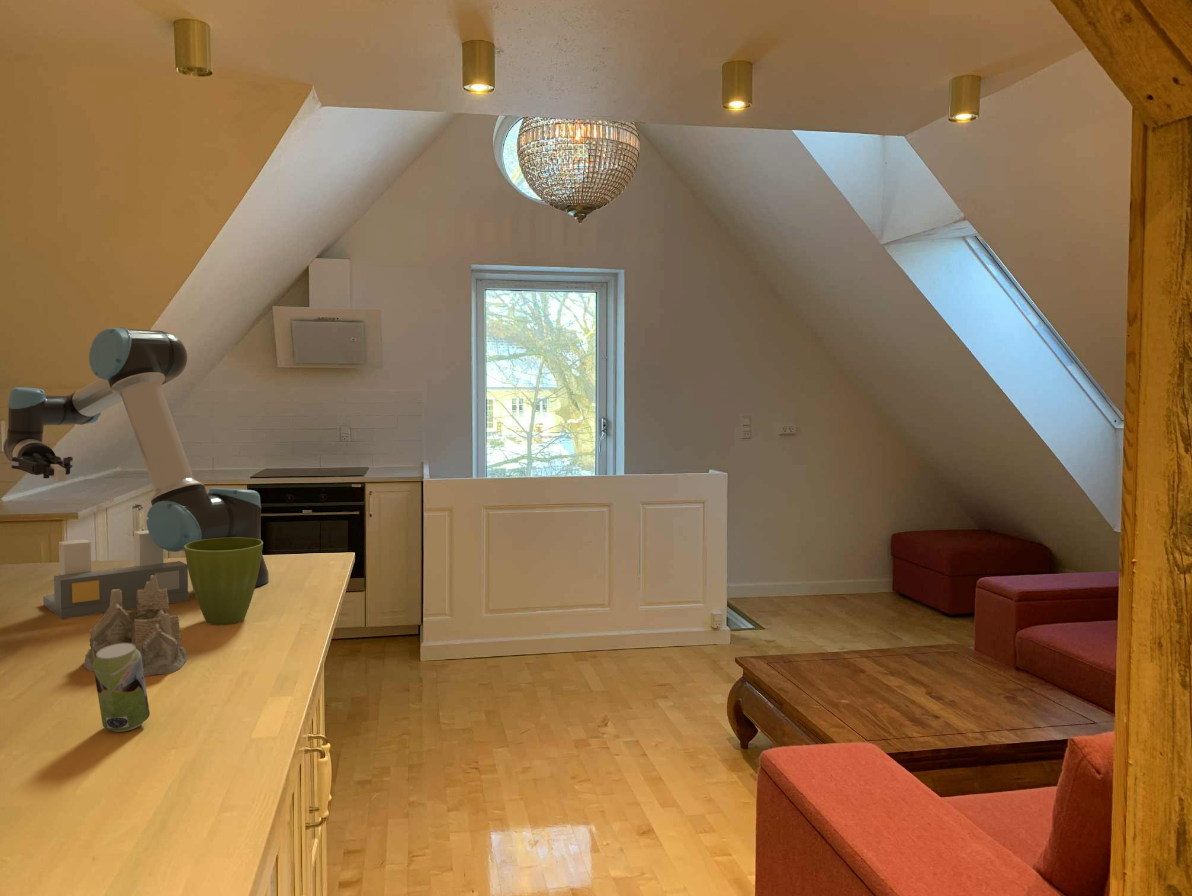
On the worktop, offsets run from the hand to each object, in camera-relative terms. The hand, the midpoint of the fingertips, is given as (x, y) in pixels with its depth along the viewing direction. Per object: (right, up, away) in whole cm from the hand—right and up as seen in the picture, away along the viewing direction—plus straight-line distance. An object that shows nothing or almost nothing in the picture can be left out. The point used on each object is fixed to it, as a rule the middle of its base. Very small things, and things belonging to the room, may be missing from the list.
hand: (61, 475), depth 202 cm
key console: (+15, -28, -5) cm, 32 cm away
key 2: (+18, -25, +4) cm, 31 cm away
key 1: (+9, -26, -11) cm, 29 cm away
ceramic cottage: (+40, -32, -46) cm, 69 cm away
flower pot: (+44, -30, -17) cm, 56 cm away
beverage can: (+53, -34, -74) cm, 97 cm away
